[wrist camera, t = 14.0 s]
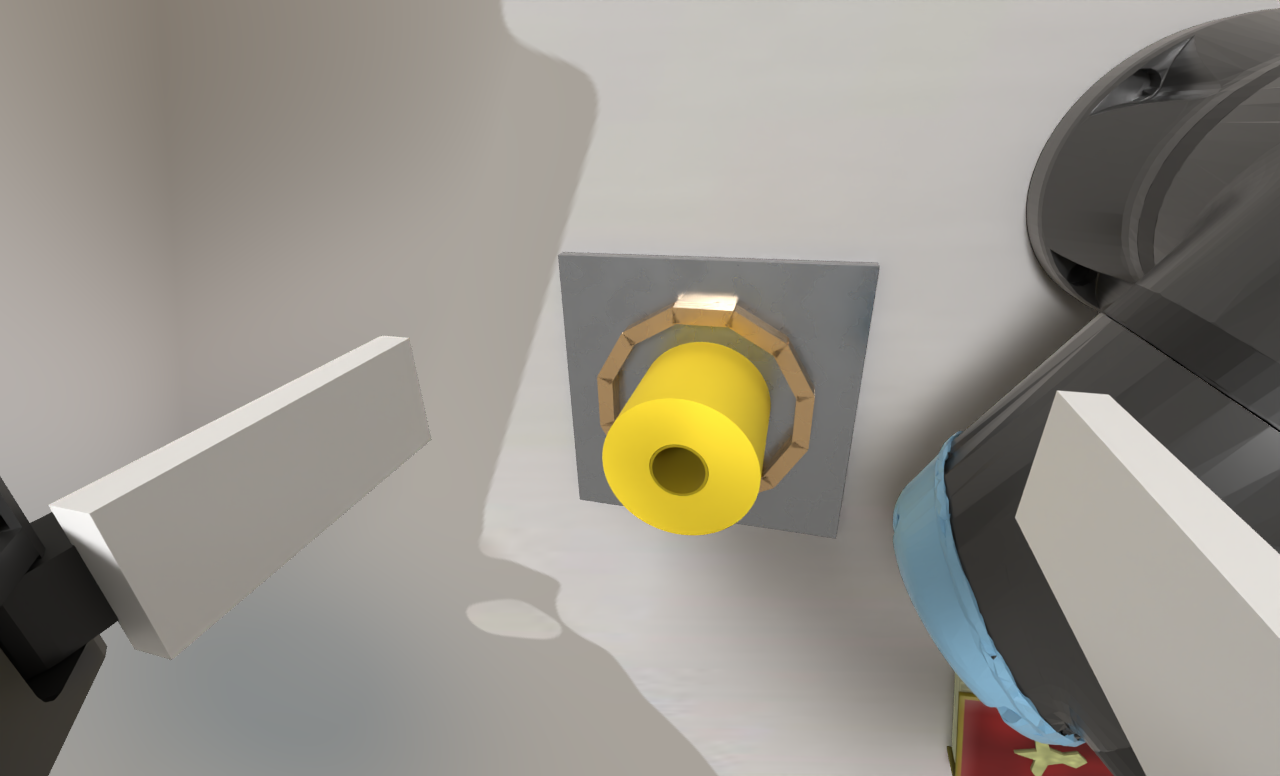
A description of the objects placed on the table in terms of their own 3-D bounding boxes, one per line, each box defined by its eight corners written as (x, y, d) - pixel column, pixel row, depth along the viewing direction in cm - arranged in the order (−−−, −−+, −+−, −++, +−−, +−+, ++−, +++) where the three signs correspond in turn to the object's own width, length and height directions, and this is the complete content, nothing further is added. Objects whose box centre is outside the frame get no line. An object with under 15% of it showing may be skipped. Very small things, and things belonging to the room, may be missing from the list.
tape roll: (658, 324, 41) (619, 376, 33) (790, 367, 40) (784, 431, 31) (629, 434, 46) (590, 502, 38) (746, 475, 44) (731, 556, 36)
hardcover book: (1228, 782, 46) (1264, 839, 43) (946, 745, 53) (955, 792, 49) (1263, 681, 42) (1306, 735, 38) (949, 654, 48) (960, 698, 45)
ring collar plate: (877, 262, 36) (881, 272, 34) (835, 530, 46) (836, 551, 43) (563, 252, 42) (549, 259, 39) (583, 492, 51) (573, 509, 49)
